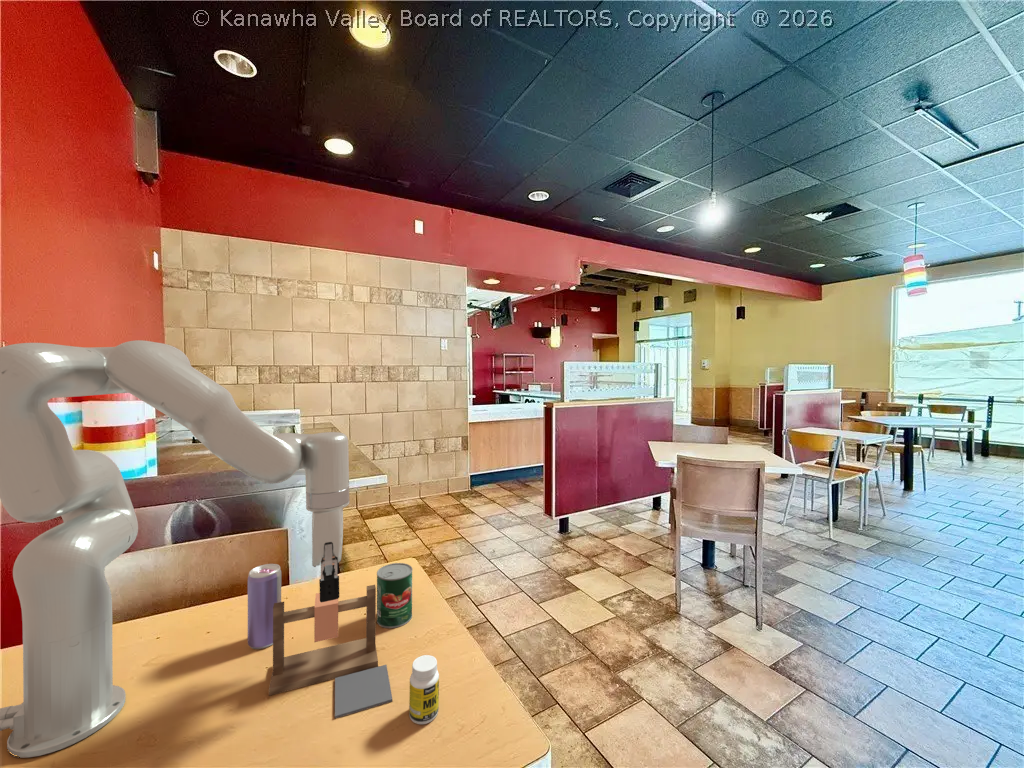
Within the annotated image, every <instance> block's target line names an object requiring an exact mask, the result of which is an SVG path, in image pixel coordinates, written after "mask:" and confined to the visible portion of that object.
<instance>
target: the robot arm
mask: <svg viewBox="0 0 1024 768" xmlns="http://www.w3.org/2000/svg"><path fill="white" fill-rule="evenodd" d="M112 394H114V395H117V394H130V395H132V396H134V397H135V398H137V399H139V400H140V401H141V402H144V403H145V404H147V405H149V406H150V407H152V408H154V409H156V410H157V411H159V412H160V413H162V414H164V415H165V416H166V417H169V418H170V419H172V420H173V421H175V422H177V423H178V424H180V425H181V426H183V427H185V429H188V430H189V431H190V432H191V434H192V435H193V437H195V439H197V440H198V441H199V442H200V443H201V444H202V445H203V446H204V447H205V448H206V449H207V450H209V452H211V453H212V454H213V455H215V457H217V458H219V460H221V461H222V462H224V463H226V464H227V465H229V466H231V467H232V468H234V469H235V470H237V471H239V472H241V473H242V474H244V475H246V476H248V477H250V478H251V479H253V480H255V481H258V482H261V483H264V484H270V485H271V484H272V485H273V484H279V483H282V482H285V481H288V480H289V479H291V478H292V477H293V476H294V475H295V474H296V472H297V471H299V470H304V472H305V474H304V475H305V507H306V509H305V510H306V511H308V512H311V513H312V514H311V546H312V547H311V554H312V555H311V556H312V557H311V558H312V561H311V562H312V563H311V566H312V567H313V568H316V567H319V566H320V579H319V582H318V584H319V593H320V602H326V601H331V600H335V599H338V600H339V598H340V575H339V574H340V562H341V561H342V553H343V539H344V508H346V507H347V506H349V505H350V469H349V468H350V467H349V466H350V461H349V459H350V458H349V454H350V453H349V439H348V436H347V434H345V433H343V432H340V431H327V432H326V431H325V432H318V433H297V432H295V433H294V432H281V433H277V434H273V433H271V432H269V431H268V430H266V429H265V428H264V427H262V426H260V425H259V424H258V423H256V422H254V421H253V420H252V419H251V418H249V417H248V416H247V415H246V414H245V413H244V412H243V411H242V410H241V409H240V408H239V407H238V405H237V404H236V402H235V399H234V396H233V394H232V393H231V392H230V391H229V390H228V389H227V388H225V387H224V386H222V385H221V384H219V383H218V382H216V381H214V380H213V379H212V378H210V377H209V376H207V375H206V374H204V373H202V372H201V371H200V370H198V369H196V368H194V367H193V366H192V364H191V361H190V359H189V358H188V356H187V355H186V353H184V351H182V350H181V349H180V348H177V347H175V346H173V345H170V344H167V343H163V342H156V341H155V342H154V341H152V340H151V341H150V340H142V339H140V340H138V339H136V340H130V341H125V342H122V343H120V344H118V345H115V346H102V347H101V346H100V347H98V346H97V347H95V346H94V347H85V346H83V347H82V346H72V345H64V344H56V343H55V344H54V343H46V342H45V343H44V342H22V343H15V344H14V343H13V344H10V345H9V344H8V345H5V346H2V347H0V502H1V504H2V506H3V508H4V509H5V511H6V512H7V514H9V516H10V517H11V518H13V519H14V520H16V521H20V522H23V523H41V522H46V521H49V520H53V519H55V518H58V517H61V518H62V521H63V522H62V523H60V524H58V525H56V526H54V527H51V528H50V529H48V530H46V531H44V532H42V533H41V534H39V535H37V536H36V537H35V538H33V539H32V540H30V541H29V543H27V544H26V545H25V546H24V548H22V550H21V551H20V552H19V554H18V555H17V557H16V559H15V561H14V563H13V567H12V578H13V583H14V586H15V589H16V593H17V596H18V599H19V604H20V608H21V609H20V610H21V621H22V663H23V664H22V669H23V670H22V671H23V672H22V673H23V674H22V676H23V678H22V680H23V681H22V682H23V683H22V684H23V694H22V695H23V696H22V697H23V702H22V703H20V704H16V705H9V706H5V707H0V732H2V731H3V730H4V731H5V730H7V729H9V730H12V731H11V733H10V734H9V736H8V738H7V741H6V749H8V750H9V752H11V753H12V754H14V755H17V756H19V757H20V758H21V759H22V758H33V757H41V756H44V755H48V754H52V753H54V752H57V751H60V750H62V749H65V748H68V747H70V746H72V745H74V744H76V743H78V742H80V741H82V740H84V739H86V738H88V737H89V736H91V735H93V734H95V733H96V732H97V731H99V730H101V729H102V728H103V727H105V726H106V725H107V724H109V722H110V721H112V720H113V719H114V718H115V717H116V716H117V715H118V714H119V713H120V711H121V710H122V709H123V707H124V705H125V703H126V695H127V694H126V691H125V689H124V688H123V687H122V686H119V685H115V684H113V678H114V677H113V672H114V671H113V599H112V597H113V596H112V592H111V588H110V585H109V583H108V581H107V577H106V574H105V570H106V567H107V566H109V564H110V563H112V562H113V561H114V560H116V559H117V558H119V557H120V556H121V555H122V554H124V553H125V552H126V551H127V550H128V549H129V548H130V547H131V546H132V545H133V544H134V542H135V540H136V539H137V537H138V532H139V522H138V517H137V514H136V511H135V508H134V506H133V502H132V500H131V497H130V494H129V491H128V489H127V486H126V483H125V480H124V477H123V475H122V473H121V470H120V469H119V467H118V466H117V464H116V463H115V461H113V460H112V459H111V458H110V457H109V456H107V455H106V454H103V453H102V452H99V451H96V450H90V449H75V450H74V448H73V445H72V444H71V441H70V439H69V436H68V435H69V434H68V431H67V429H66V427H65V425H64V423H63V422H62V420H61V419H60V418H59V417H58V416H57V414H56V413H55V412H54V411H53V410H52V409H51V408H50V407H49V403H48V402H49V401H50V400H51V399H55V398H57V399H59V398H62V399H63V398H74V397H87V396H100V395H101V396H102V395H112ZM8 750H7V751H8ZM19 757H18V758H19Z"/></svg>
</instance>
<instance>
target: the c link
mask: <svg viewBox="0 0 1024 768" xmlns="http://www.w3.org/2000/svg"><path fill="white" fill-rule="evenodd" d="M338 601H339V598H338V599H335V600H331V601H326V602H320V592H318V593H315V597H314V606H315V614H314V617H313V619H314V622H313V624H314V625H313V626H314V627H313V628H314V632H313V633H314V639H313V640H314V643H319V642H322V641H326V640H331V639H336V638H339V612H338Z"/></svg>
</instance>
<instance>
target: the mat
mask: <svg viewBox="0 0 1024 768" xmlns="http://www.w3.org/2000/svg"><path fill="white" fill-rule="evenodd" d="M387 665H388V664H383V665H380V666H379V665H378V667H375V668H371V669H367V670H364V671H360V672H356V673H352V674H349V675H345V676H341V677H337V678H334V718H335V719H339V718H341V717H345V716H348V715H352V714H355V713H358V712H362V711H365V710H368V709H373V708H375V707H378V706H382V705H385V704H389V703H391V702H393V694H392V689H391V683H390V677H389V671H388V666H387Z"/></svg>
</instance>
